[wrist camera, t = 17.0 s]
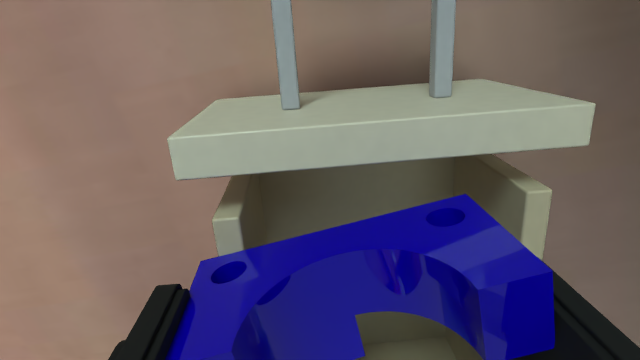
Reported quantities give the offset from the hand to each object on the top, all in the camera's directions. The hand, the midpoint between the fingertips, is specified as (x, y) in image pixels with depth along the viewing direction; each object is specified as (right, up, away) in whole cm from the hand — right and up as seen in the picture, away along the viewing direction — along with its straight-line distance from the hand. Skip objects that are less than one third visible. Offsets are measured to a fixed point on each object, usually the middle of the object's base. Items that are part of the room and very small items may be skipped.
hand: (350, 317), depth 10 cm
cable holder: (0, +1, +2) cm, 2 cm away
